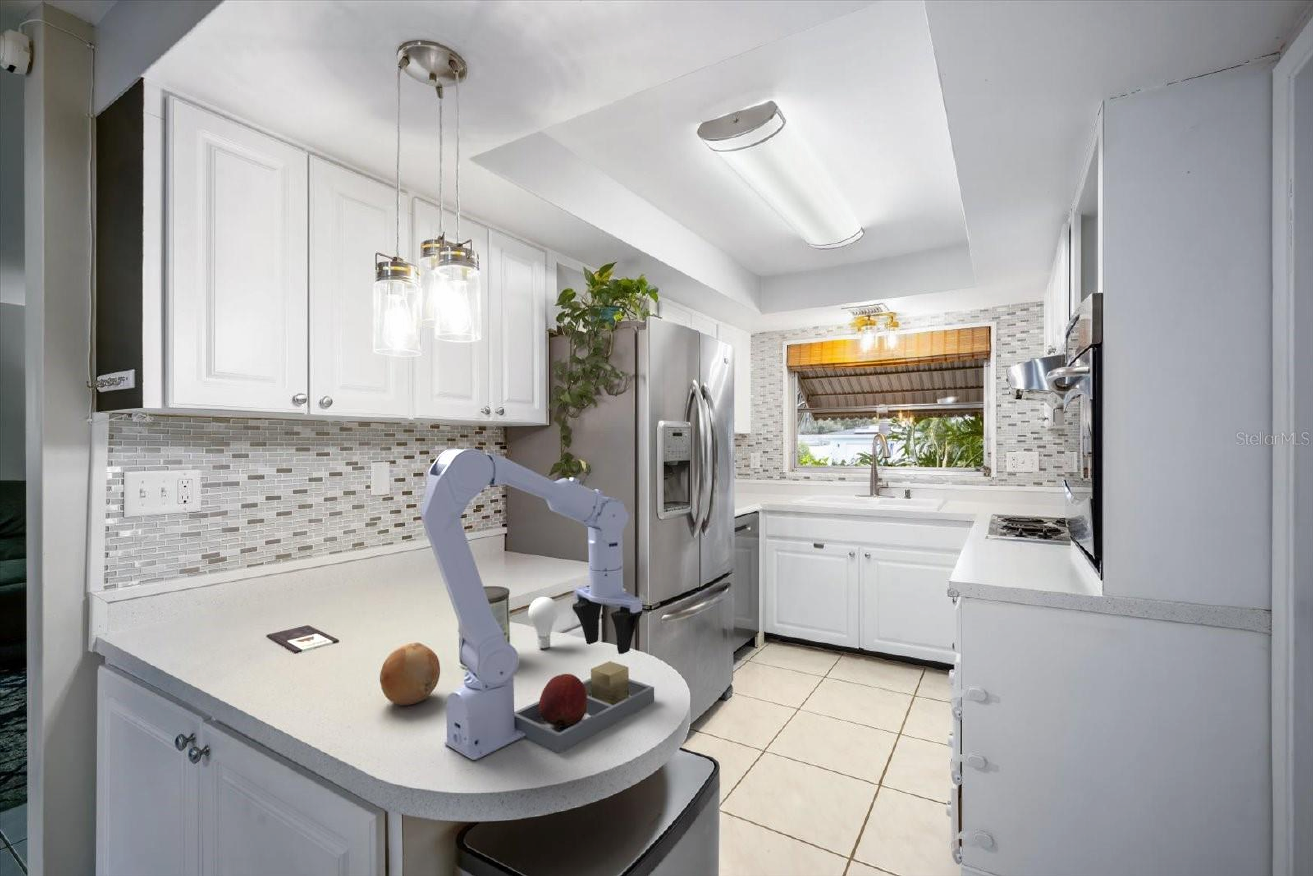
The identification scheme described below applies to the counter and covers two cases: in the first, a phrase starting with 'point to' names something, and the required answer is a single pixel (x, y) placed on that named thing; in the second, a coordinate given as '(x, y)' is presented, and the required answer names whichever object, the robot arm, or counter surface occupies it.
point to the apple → (563, 701)
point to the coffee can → (496, 611)
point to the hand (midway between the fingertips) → (607, 647)
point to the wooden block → (610, 683)
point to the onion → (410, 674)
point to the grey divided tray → (600, 720)
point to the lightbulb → (543, 618)
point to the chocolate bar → (302, 639)
